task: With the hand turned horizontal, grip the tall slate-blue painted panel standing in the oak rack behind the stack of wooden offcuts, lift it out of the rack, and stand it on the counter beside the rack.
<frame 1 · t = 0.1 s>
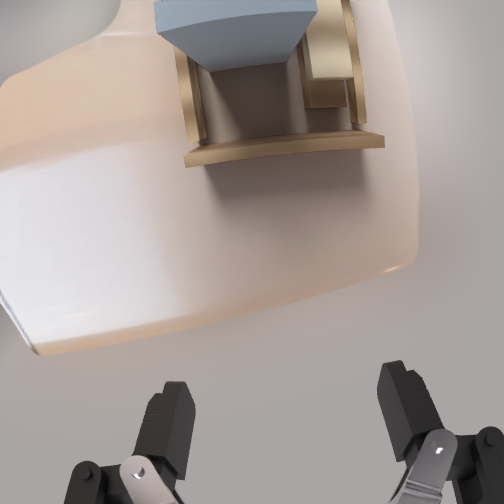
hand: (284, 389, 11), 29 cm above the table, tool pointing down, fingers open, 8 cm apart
rack: (246, 58, 31), on the table
offcut stack: (314, 52, 30), resting in rack
panel: (246, 58, 31), resting in rack
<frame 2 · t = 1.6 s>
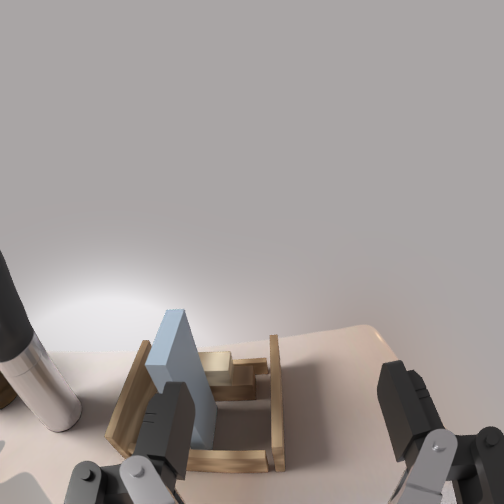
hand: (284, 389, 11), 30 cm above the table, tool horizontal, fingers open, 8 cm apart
wooden container: (1, 388, 46), on the table
rack: (207, 431, 40), on the table
offcut stack: (213, 391, 47), resting in rack
panel: (207, 431, 40), resting in rack
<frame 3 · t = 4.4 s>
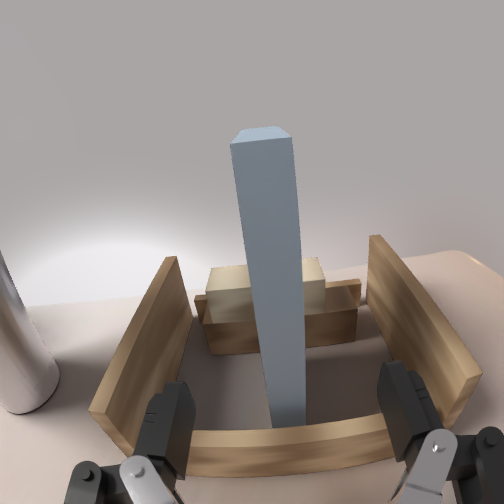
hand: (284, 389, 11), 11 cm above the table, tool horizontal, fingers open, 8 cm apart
rack: (287, 399, 23), on the table
offcut stack: (282, 336, 30), resting in rack
panel: (287, 399, 23), resting in rack
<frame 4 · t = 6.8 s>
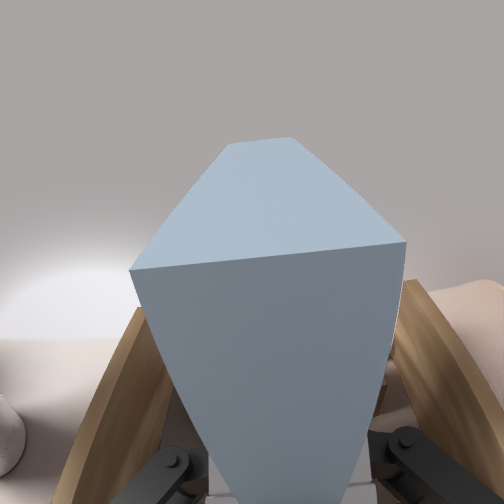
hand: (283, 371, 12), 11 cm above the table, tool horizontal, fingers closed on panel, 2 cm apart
rack: (292, 498, 15), on the table
panel: (293, 498, 15), resting in rack, touching gripper
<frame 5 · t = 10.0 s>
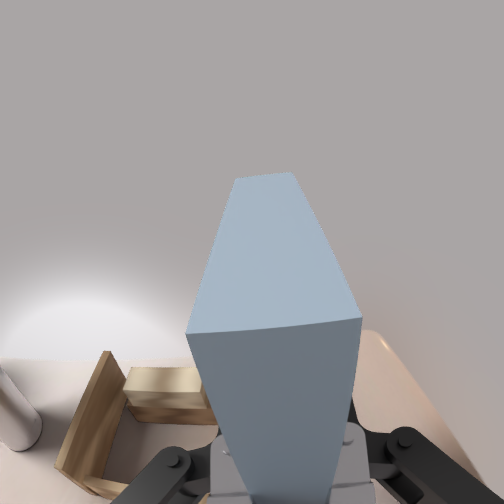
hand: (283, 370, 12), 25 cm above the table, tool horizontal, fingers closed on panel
rack: (178, 461, 30), on the table
offcut stack: (186, 412, 37), resting in rack
panel: (293, 495, 16), point 13 cm above the table, touching gripper
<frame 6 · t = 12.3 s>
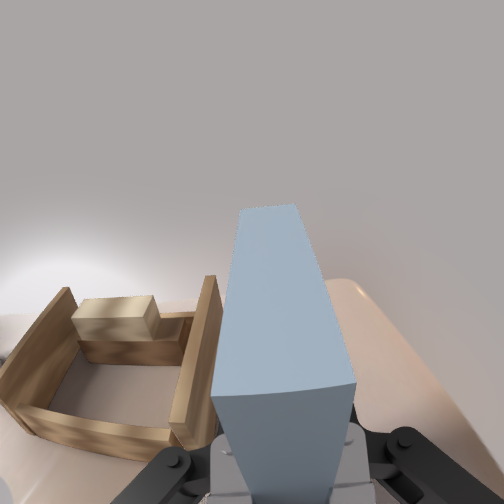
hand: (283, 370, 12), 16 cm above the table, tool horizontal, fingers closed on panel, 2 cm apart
rack: (119, 402, 29), on the table
offcut stack: (138, 353, 36), resting in rack
panel: (293, 500, 17), point 2 cm above the table, touching gripper
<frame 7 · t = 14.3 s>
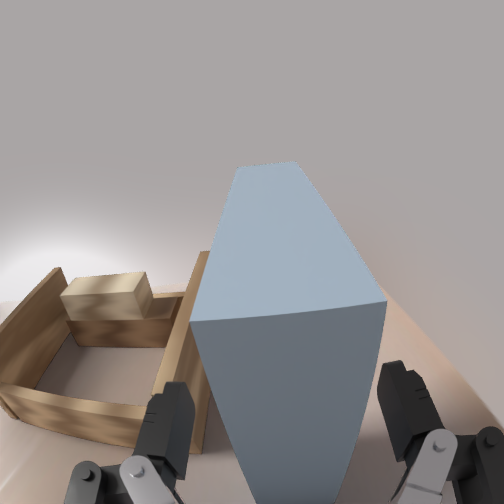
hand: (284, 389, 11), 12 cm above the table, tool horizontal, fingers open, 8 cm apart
rack: (106, 384, 27), on the table
offcut stack: (129, 336, 34), resting in rack
panel: (294, 494, 16), on the table
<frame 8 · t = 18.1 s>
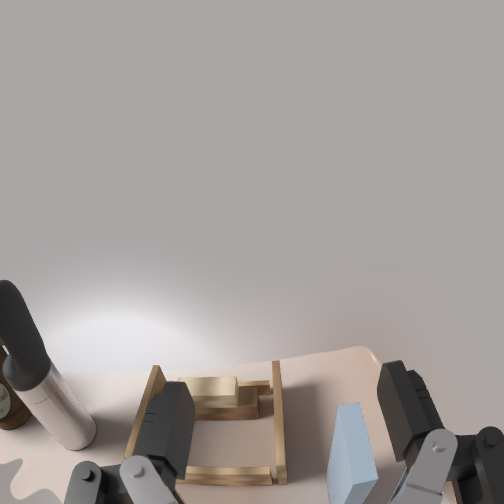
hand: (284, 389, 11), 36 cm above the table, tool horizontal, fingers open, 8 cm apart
wooden container: (14, 407, 48), on the table
rack: (215, 448, 42), on the table
offcut stack: (220, 411, 50), resting in rack
panel: (336, 499, 31), on the table
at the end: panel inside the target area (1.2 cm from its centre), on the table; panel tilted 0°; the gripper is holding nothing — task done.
